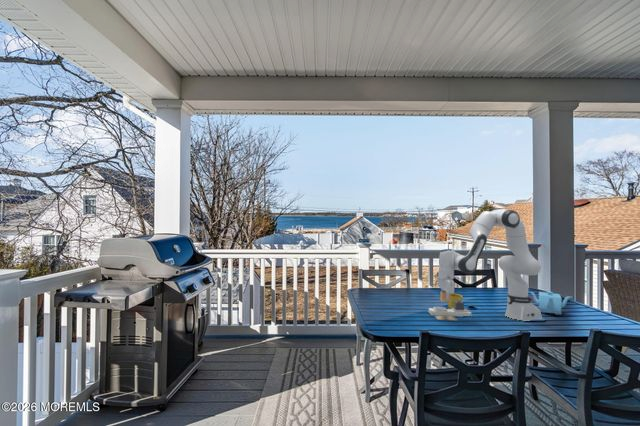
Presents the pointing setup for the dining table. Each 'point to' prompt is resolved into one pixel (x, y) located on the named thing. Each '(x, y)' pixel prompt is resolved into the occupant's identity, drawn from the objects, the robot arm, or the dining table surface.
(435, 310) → the power strip
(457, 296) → the plant pot
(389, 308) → the dining table surface
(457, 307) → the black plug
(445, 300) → the orange charger
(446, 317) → the cork mat
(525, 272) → the robot arm
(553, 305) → the teakettle
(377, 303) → the dining table surface
